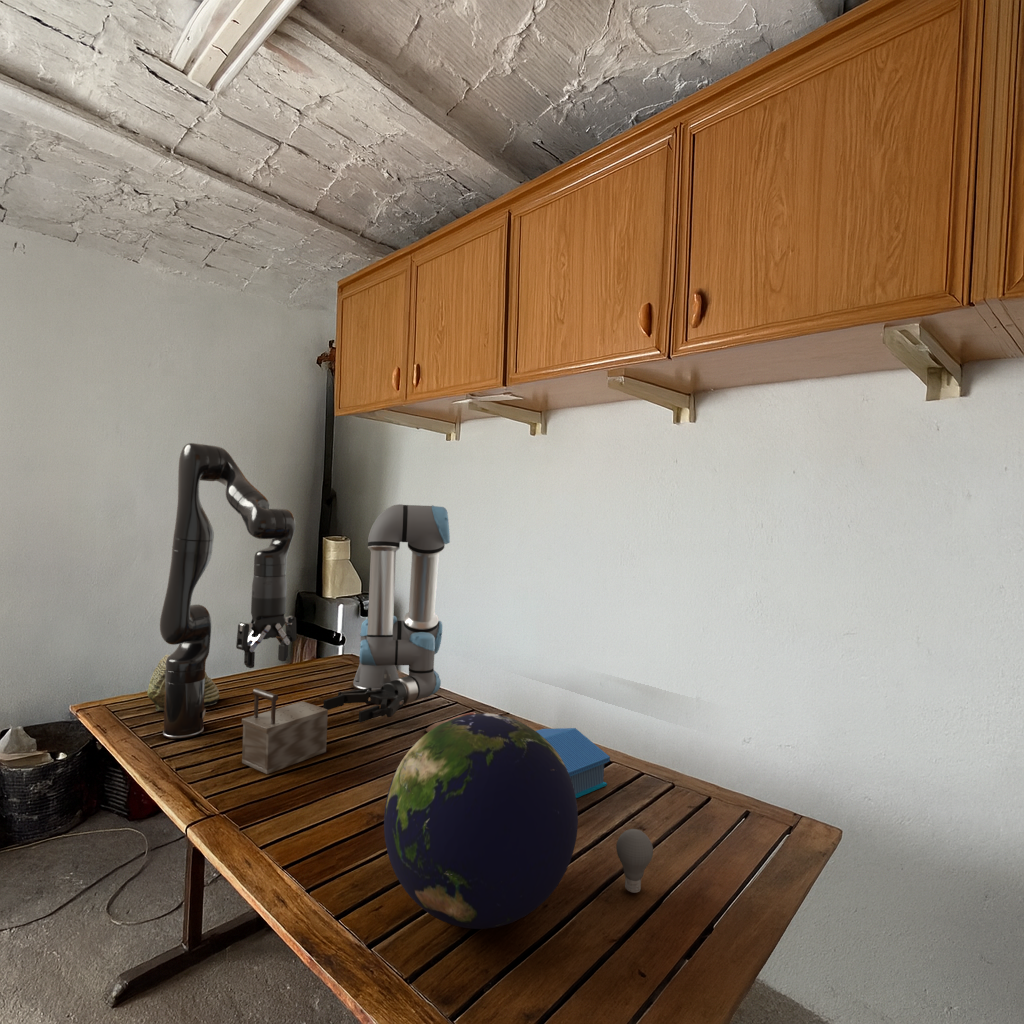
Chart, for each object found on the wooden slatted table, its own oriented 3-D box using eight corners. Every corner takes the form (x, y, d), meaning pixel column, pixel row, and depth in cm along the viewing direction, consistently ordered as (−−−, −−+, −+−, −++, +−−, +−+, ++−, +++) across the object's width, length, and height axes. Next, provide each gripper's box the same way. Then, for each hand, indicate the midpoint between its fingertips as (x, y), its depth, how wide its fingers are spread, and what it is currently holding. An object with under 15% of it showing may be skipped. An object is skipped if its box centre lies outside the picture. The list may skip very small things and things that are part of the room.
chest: (267, 774, 143) (268, 733, 143) (241, 763, 149) (243, 723, 148) (326, 751, 157) (327, 714, 157) (301, 742, 162) (302, 705, 162)
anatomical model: (422, 719, 171) (435, 706, 182) (421, 734, 171) (435, 720, 182) (469, 725, 168) (480, 711, 179) (469, 740, 168) (479, 725, 179)
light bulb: (610, 879, 108) (613, 822, 108) (644, 879, 109) (647, 822, 109) (619, 902, 102) (622, 840, 102) (655, 901, 103) (658, 840, 103)
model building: (485, 848, 116) (487, 795, 116) (411, 798, 134) (413, 751, 134) (618, 790, 143) (620, 746, 142) (541, 754, 161) (543, 715, 161)
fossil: (144, 707, 182) (145, 655, 182) (212, 696, 194) (213, 647, 194) (151, 716, 175) (153, 662, 175) (221, 703, 188) (223, 653, 188)
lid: (266, 733, 143) (268, 698, 142) (241, 723, 148) (242, 689, 148) (327, 714, 157) (328, 682, 157) (302, 705, 162) (303, 674, 162)
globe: (338, 940, 91) (346, 732, 90) (439, 840, 119) (446, 681, 118) (534, 1012, 80) (544, 775, 79) (594, 883, 107) (603, 707, 107)
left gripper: (251, 599, 139) (248, 673, 139) (305, 593, 151) (302, 661, 151) (231, 595, 143) (228, 667, 143) (285, 589, 155) (282, 655, 155)
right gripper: (430, 715, 177) (375, 737, 159) (367, 696, 191) (309, 714, 173) (431, 688, 177) (376, 707, 159) (368, 671, 190) (310, 687, 173)
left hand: (266, 663), depth 147 cm, fingers open, 8 cm apart
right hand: (341, 711), depth 166 cm, fingers open, 13 cm apart
